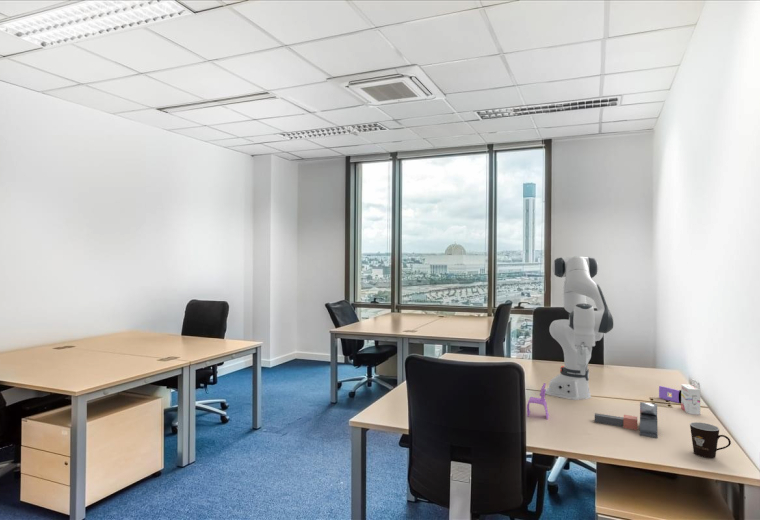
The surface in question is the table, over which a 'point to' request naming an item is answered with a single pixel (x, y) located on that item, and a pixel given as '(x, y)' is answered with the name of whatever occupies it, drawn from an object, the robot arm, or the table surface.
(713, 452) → the coffee mug
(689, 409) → the ink cartridge box
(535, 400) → the toy chair
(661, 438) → the table surface
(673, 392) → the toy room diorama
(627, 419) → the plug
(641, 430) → the housing
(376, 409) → the table surface
